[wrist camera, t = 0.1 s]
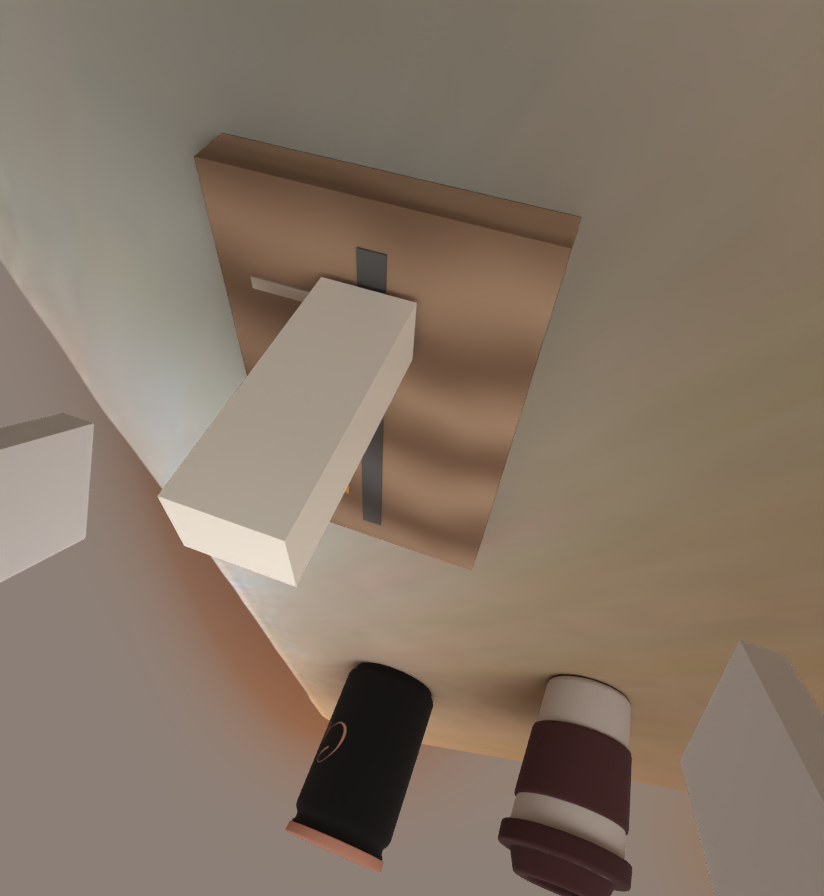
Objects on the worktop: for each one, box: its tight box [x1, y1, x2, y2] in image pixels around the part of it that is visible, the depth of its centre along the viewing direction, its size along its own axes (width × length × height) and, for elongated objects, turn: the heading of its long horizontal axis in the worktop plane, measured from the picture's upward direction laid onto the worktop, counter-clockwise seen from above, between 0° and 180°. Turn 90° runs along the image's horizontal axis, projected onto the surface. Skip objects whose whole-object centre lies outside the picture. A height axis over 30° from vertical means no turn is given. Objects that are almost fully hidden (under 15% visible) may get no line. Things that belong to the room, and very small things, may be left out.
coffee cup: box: [498, 676, 632, 896], centre depth 48 cm, size 10×10×15 cm
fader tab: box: [158, 277, 417, 587], centre depth 21 cm, size 3×4×11 cm
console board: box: [194, 133, 582, 570], centre depth 30 cm, size 24×14×2 cm, turn 177°
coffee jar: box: [286, 663, 433, 872], centre depth 65 cm, size 11×11×18 cm
